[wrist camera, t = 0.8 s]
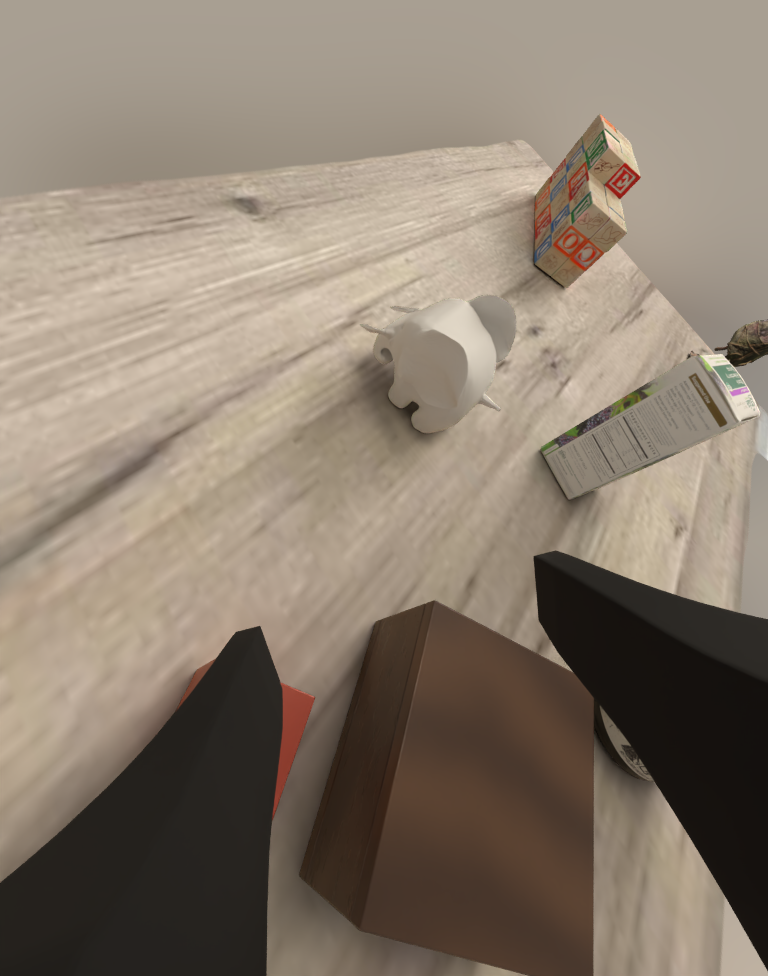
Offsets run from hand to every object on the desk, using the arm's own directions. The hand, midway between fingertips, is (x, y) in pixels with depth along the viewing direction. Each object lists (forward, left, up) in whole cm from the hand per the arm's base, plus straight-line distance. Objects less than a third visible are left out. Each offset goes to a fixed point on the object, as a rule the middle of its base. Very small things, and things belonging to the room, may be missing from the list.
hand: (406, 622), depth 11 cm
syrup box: (+27, -20, -14) cm, 36 cm away
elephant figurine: (+24, -2, -14) cm, 28 cm away
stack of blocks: (+69, -14, -14) cm, 72 cm away
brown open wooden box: (-1, -11, -14) cm, 18 cm away
